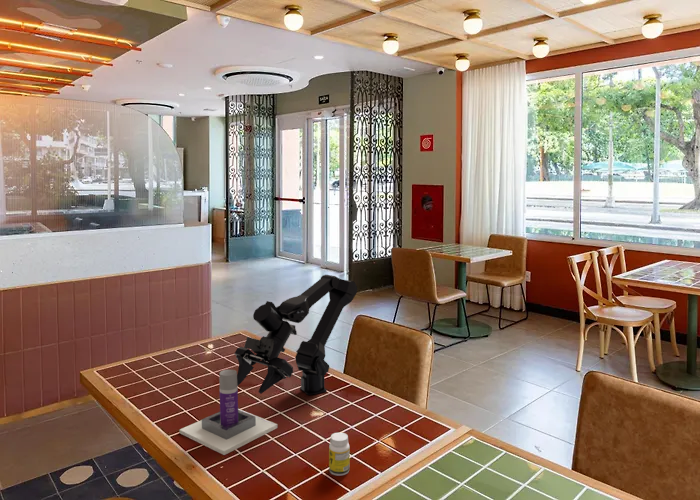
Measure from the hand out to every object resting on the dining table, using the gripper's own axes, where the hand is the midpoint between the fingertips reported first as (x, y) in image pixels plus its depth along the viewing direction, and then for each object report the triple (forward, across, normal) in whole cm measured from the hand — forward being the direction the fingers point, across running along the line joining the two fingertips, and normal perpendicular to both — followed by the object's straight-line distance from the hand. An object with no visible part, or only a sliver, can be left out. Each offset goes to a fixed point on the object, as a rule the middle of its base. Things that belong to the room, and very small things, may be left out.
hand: (248, 388), depth 147 cm
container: (+11, 0, +1) cm, 11 cm away
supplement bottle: (+10, +35, +4) cm, 37 cm away
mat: (+12, 0, +2) cm, 12 cm away
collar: (+12, 0, +2) cm, 12 cm away
